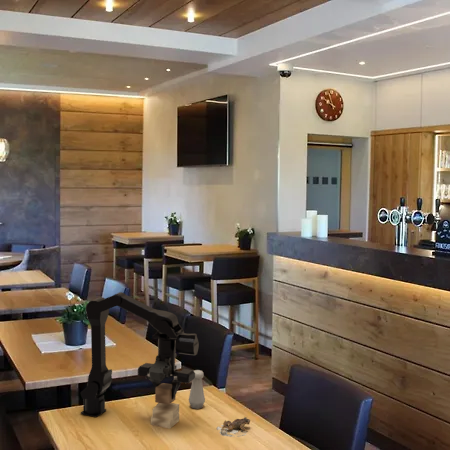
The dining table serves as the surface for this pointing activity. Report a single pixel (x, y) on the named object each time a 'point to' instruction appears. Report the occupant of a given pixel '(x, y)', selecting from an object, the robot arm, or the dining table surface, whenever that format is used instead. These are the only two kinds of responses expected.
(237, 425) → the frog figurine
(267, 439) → the dining table surface
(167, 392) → the walnut cube
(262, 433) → the dining table surface
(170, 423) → the beech slab lower
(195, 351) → the robot arm
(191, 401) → the salt shaker
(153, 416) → the beech slab upper
